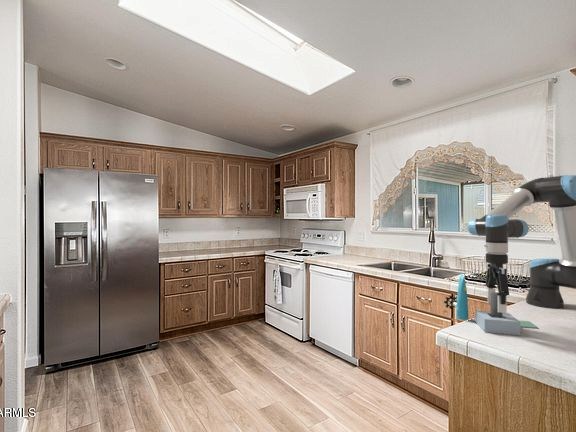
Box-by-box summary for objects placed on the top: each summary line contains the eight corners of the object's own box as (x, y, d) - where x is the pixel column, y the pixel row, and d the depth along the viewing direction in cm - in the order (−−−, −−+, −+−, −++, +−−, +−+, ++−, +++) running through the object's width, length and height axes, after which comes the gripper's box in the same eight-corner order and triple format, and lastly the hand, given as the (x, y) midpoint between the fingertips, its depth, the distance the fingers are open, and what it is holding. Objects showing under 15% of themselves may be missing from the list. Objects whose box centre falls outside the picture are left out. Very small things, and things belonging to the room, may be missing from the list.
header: (507, 324, 133) (507, 312, 133) (520, 335, 122) (520, 321, 122) (475, 322, 136) (475, 310, 136) (484, 332, 125) (484, 319, 125)
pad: (529, 322, 136) (529, 321, 136) (538, 328, 129) (538, 327, 129) (507, 320, 138) (507, 319, 138) (515, 326, 131) (515, 325, 131)
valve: (472, 316, 145) (457, 308, 157) (472, 301, 145) (457, 295, 157) (457, 316, 144) (443, 308, 156) (457, 301, 144) (443, 295, 156)
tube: (471, 321, 137) (471, 276, 137) (458, 320, 138) (458, 276, 138) (465, 316, 144) (465, 273, 144) (453, 315, 145) (453, 273, 145)
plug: (500, 327, 130) (500, 292, 130) (504, 330, 127) (504, 294, 127) (489, 326, 131) (489, 291, 131) (492, 329, 128) (492, 294, 128)
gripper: (477, 249, 141) (477, 299, 141) (496, 256, 119) (496, 316, 119) (496, 250, 139) (496, 301, 139) (520, 257, 117) (520, 317, 117)
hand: (496, 308), depth 129 cm, fingers open, 11 cm apart
